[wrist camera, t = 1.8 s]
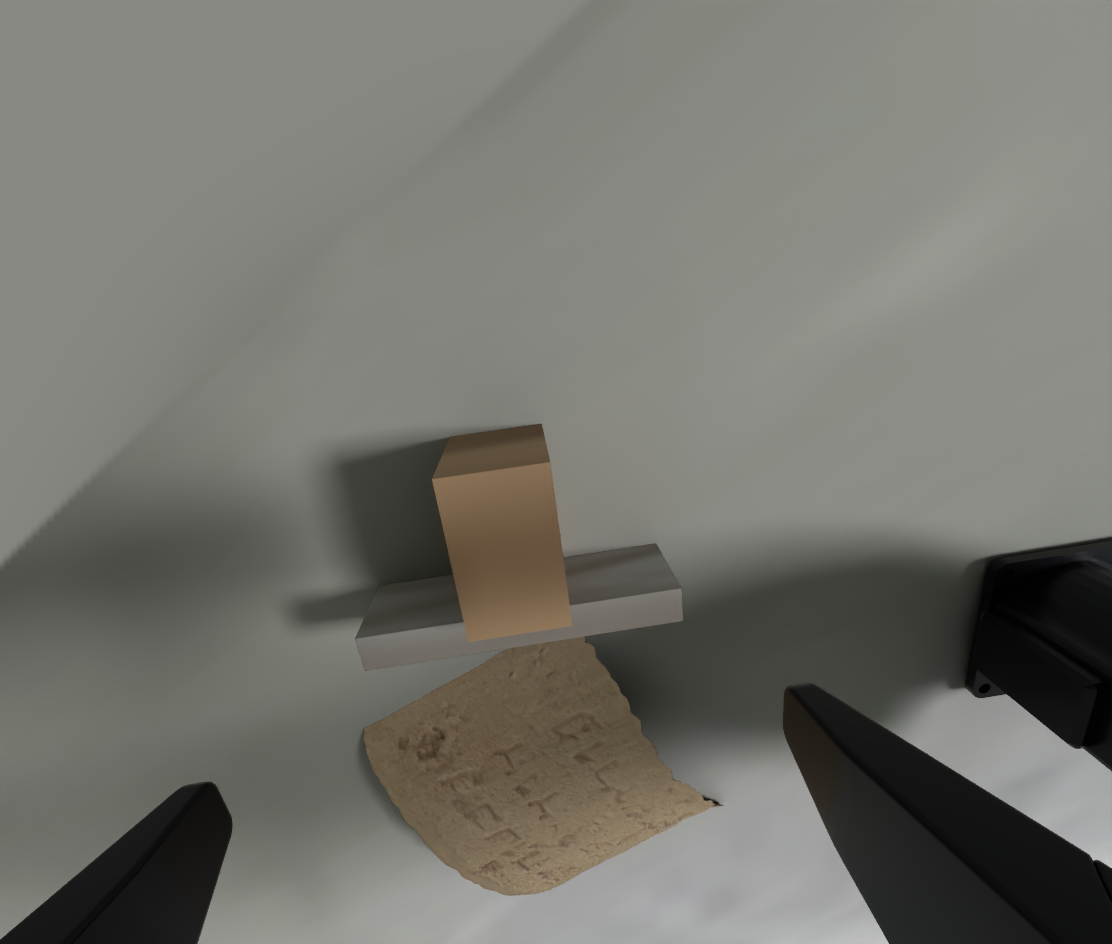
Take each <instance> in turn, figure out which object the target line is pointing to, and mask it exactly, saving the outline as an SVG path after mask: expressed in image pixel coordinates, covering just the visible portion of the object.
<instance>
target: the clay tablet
mask: <svg viewBox="0 0 1112 944" xmlns="http://www.w3.org/2000/svg"><path fill="white" fill-rule="evenodd" d="M364 732H365V733H364V741H365V744H366V747H367V749H366V753H367V755H368V758H369V760H370V763H371V766H372V769H373V772H374V773H375V774H376V775H377V776H378V777H379V780H380V784H381V785H382V786H383V787H384V788H385V789H386V791H387V793H388V796H389V797H390V799H391V801H392V803H393V804H395V805H396V806H397V807H398V808H399V810H400V813H401V815H402V817H403V818H404V819H405V821H406V823H408V824H409V825H410V827H412V828H414V829H416V830H417V831H418V834H419V836H420V837H421V838H422V840H423V841H424V842H425V843H426V845H427V846H428V847H429V848H430V850H431V851H432V852H433V853H434V854H435V855H436V856H437V857H438V858H439V859H440V860H441V861H443V862H444V863H445V864H446V865H447V866H449V867H451V868H453V869H455V870H457V871H458V872H459V873H460V874H461V876H462V877H464V878H465V879H467V880H470V881H472V882H474V883H475V884H479V885H480V886H481V887H483V888H484V889H488V890H492V891H496V892H498V893H500V894H503V895H525V894H536V893H540V892H544V891H547V890H550V889H552V888H554V887H556V886H559V885H561V884H563V883H565V882H567V881H568V880H570V879H572V878H573V877H575V876H577V875H578V874H580V873H582V872H584V871H586V870H588V869H590V868H592V867H594V866H596V865H598V864H600V863H601V862H603V861H605V860H607V859H609V858H612V857H614V856H616V855H618V854H620V853H622V852H625V851H626V850H628V849H630V848H632V847H634V846H636V845H638V844H639V843H641V842H643V841H645V840H647V839H648V838H650V837H652V836H654V835H656V834H659V833H661V832H663V831H665V830H667V829H668V828H670V827H672V826H675V825H676V824H678V823H679V822H681V821H682V820H684V819H686V818H689V817H691V816H694V815H696V814H699V813H701V812H704V811H705V810H707V809H709V808H711V807H718V806H723V805H718V804H714V803H713V802H712V801H710V800H709V801H703V800H704V798H703V797H702V795H701V794H699V793H698V792H697V791H696V790H694V789H693V788H691V787H690V786H689V785H687V784H682V783H681V782H680V781H676V780H674V779H673V778H672V772H671V769H670V768H668V767H666V766H665V765H664V764H663V762H662V761H661V760H660V759H659V758H658V753H657V751H656V750H655V747H654V746H653V745H652V742H651V741H649V740H648V738H647V737H645V736H644V735H643V734H642V731H641V721H640V720H639V719H638V718H637V717H636V716H634V715H633V714H632V713H631V711H630V705H629V702H628V699H627V698H626V697H625V696H624V695H622V694H621V692H620V689H619V686H618V685H617V683H616V682H615V681H614V680H613V679H612V678H611V677H610V673H609V672H608V671H607V670H606V667H605V666H604V665H602V664H601V663H600V661H599V660H598V659H597V658H596V652H595V647H594V646H592V645H591V644H590V643H585V636H584V637H577V638H571V639H565V640H558V641H552V642H546V643H539V644H533V645H527V646H520V647H514V648H508V649H507V650H505V651H503V652H501V653H499V654H498V655H496V656H494V657H493V658H491V659H489V660H488V661H486V662H485V663H483V664H481V665H480V666H478V667H476V668H474V669H473V670H471V671H469V672H468V673H466V674H464V675H462V676H460V677H458V678H456V679H454V680H452V681H451V682H449V683H447V684H445V685H443V686H442V687H440V688H437V689H436V690H434V691H432V692H430V693H429V694H427V695H425V696H424V697H422V698H421V699H419V700H417V701H415V702H413V703H411V704H409V705H407V706H406V707H404V708H402V709H400V710H398V711H396V712H395V713H393V714H391V715H389V716H388V717H386V718H384V719H382V720H380V721H378V722H376V723H374V724H372V725H370V726H368V727H366V728H364Z"/></svg>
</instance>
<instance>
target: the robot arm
mask: <svg viewBox="0 0 1112 944" xmlns="http://www.w3.org/2000/svg"><path fill="white" fill-rule="evenodd" d="M965 687H966V689H967V690H968V691H969V692H971V693H972V694H973V695H974V696H975V697H977V698H985V697H991V696H997V695H1003V694H1007V695H1008V696H1010V697H1011V698H1012V699H1013V700H1015V701H1016V702H1017V703H1018V704H1019V705H1021V706H1022V707H1023V708H1024V709H1026V710H1027V711H1028V712H1029V713H1030V714H1032V715H1033V716H1034V717H1035V718H1037V719H1038V720H1039V721H1040V722H1042V723H1043V724H1044V725H1045V726H1046V727H1048V728H1049V729H1050V730H1051V731H1053V732H1054V733H1055V734H1056V735H1057V736H1059V737H1060V738H1061V739H1062V740H1064V741H1065V742H1066V743H1067V744H1069V745H1070V746H1071V747H1073V748H1076V749H1080V748H1084V749H1085V750H1086V751H1087V752H1089V753H1090V754H1091V755H1092V756H1094V757H1095V758H1096V759H1097V760H1098V761H1100V762H1101V763H1102V764H1103V765H1105V766H1106V767H1107V768H1108V769H1110V770H1111V771H1112V540H1111V541H1105V542H1099V543H1092V544H1086V545H1080V546H1073V547H1067V548H1061V549H1054V550H1048V551H1042V552H1035V553H1029V554H1023V555H1016V556H1010V557H1004V558H999V559H996V560H994V561H993V562H992V563H991V564H990V565H989V566H988V568H987V570H986V575H985V580H984V585H983V591H982V596H981V601H980V607H979V612H978V617H977V623H976V628H975V633H974V639H973V644H972V650H971V655H970V660H969V666H968V671H967V676H966V682H965ZM783 729H784V734H785V737H786V740H787V743H788V745H789V747H790V749H791V752H792V754H793V756H794V758H795V760H796V763H797V765H798V767H799V769H800V772H801V774H802V776H803V778H804V780H805V783H806V785H807V787H808V789H809V792H810V794H811V796H812V798H813V800H814V803H815V805H816V807H817V809H818V812H819V814H820V816H821V818H822V820H823V823H824V825H825V827H826V829H827V831H828V833H829V836H830V838H831V840H832V842H833V844H834V846H835V848H836V850H837V852H838V853H839V855H840V857H841V859H842V861H843V863H844V864H845V866H846V868H847V870H848V872H849V873H850V875H851V877H852V879H853V880H854V882H855V884H856V886H857V887H858V889H859V891H860V893H861V895H862V896H863V898H864V900H865V902H866V903H867V905H868V907H869V909H870V911H871V912H872V914H873V916H874V918H875V919H876V921H877V923H878V925H879V926H880V928H881V930H882V932H883V934H884V935H885V937H886V939H887V941H888V942H889V944H1112V868H1110V867H1109V866H1107V865H1105V864H1104V863H1102V862H1101V861H1098V860H1094V861H1093V860H1092V858H1091V857H1090V855H1089V854H1087V853H1086V852H1084V851H1082V850H1081V849H1079V848H1078V847H1076V846H1074V845H1073V844H1071V843H1070V842H1068V841H1066V840H1065V839H1063V838H1062V837H1060V836H1058V835H1057V834H1055V833H1053V832H1052V831H1050V830H1049V829H1047V828H1045V827H1044V826H1042V825H1041V824H1039V823H1037V822H1036V821H1034V820H1033V819H1031V818H1029V817H1028V816H1026V815H1024V814H1023V813H1021V812H1020V811H1018V810H1016V809H1015V808H1013V807H1012V806H1010V805H1008V804H1007V803H1005V802H1004V801H1002V800H1000V799H999V798H997V797H995V796H994V795H992V794H991V793H989V792H987V791H986V790H984V789H983V788H981V787H979V786H978V785H976V784H975V783H973V782H971V781H970V780H968V779H966V778H965V777H963V776H962V775H960V774H958V773H957V772H955V771H954V770H952V769H950V768H949V767H947V766H946V765H944V764H942V763H941V762H939V761H937V760H936V759H934V758H933V757H931V756H929V755H928V754H926V753H925V752H923V751H921V750H920V749H918V748H917V747H915V746H913V745H912V744H910V743H908V742H907V741H905V740H904V739H902V738H900V737H899V736H897V735H896V734H894V733H892V732H891V731H889V730H888V729H886V728H884V727H883V726H881V725H879V724H878V723H876V722H875V721H873V720H871V719H870V718H868V717H867V716H865V715H863V714H862V713H860V712H859V711H857V710H855V709H854V708H852V707H851V706H849V705H847V704H846V703H844V702H842V701H841V700H839V699H838V698H836V697H834V696H833V695H831V694H830V693H828V692H826V691H825V690H823V689H822V688H820V687H818V686H817V685H815V684H812V683H803V684H797V685H791V686H788V687H787V688H786V689H785V691H784V709H783ZM231 834H232V817H231V814H230V812H229V810H228V808H227V806H226V804H225V802H224V800H223V798H222V796H221V794H220V792H219V790H218V788H217V786H216V785H215V784H214V783H212V782H202V783H196V784H190V785H186V786H183V787H181V788H179V789H178V790H177V791H175V792H174V793H173V794H172V795H171V796H170V797H168V798H167V799H166V800H165V801H164V802H162V803H161V804H160V805H159V806H158V807H157V808H155V809H154V810H153V811H152V812H151V813H149V814H148V815H147V816H146V817H145V818H144V819H142V820H141V821H140V822H139V823H138V824H136V825H135V826H134V827H133V828H132V829H131V830H129V831H128V832H127V833H126V834H125V835H123V836H122V837H121V838H120V839H119V840H118V841H116V842H115V843H114V844H113V845H112V846H110V847H109V848H108V849H107V850H106V851H105V852H103V853H102V854H101V855H100V856H99V857H97V858H96V859H95V860H94V861H93V862H91V863H90V864H89V865H88V866H87V867H86V868H84V869H83V870H82V871H81V872H80V873H78V874H77V875H76V876H75V877H74V878H73V879H71V880H70V881H69V882H68V883H67V884H65V885H64V886H63V887H62V888H61V889H60V890H58V891H57V892H56V893H55V894H54V895H52V896H51V897H50V898H49V899H48V900H47V901H45V902H44V903H43V904H42V905H41V906H39V907H38V908H37V909H36V910H35V911H34V912H32V913H31V914H30V915H29V916H28V917H26V918H25V919H24V920H23V921H22V922H20V923H19V924H18V925H17V926H16V927H15V928H13V929H12V930H11V931H10V932H9V933H7V934H6V935H5V936H4V937H3V938H2V939H0V944H197V943H198V940H199V937H200V934H201V931H202V928H203V924H204V921H205V918H206V915H207V912H208V908H209V905H210V902H211V899H212V896H213V892H214V889H215V886H216V883H217V880H218V876H219V873H220V870H221V867H222V863H223V860H224V857H225V854H226V851H227V847H228V844H229V841H230V838H231Z"/></svg>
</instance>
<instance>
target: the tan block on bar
mask: <svg viewBox="0 0 1112 944" xmlns="http://www.w3.org/2000/svg"><path fill="white" fill-rule="evenodd" d="M432 482H433V486H434V491H435V495H436V500H437V504H438V509H439V513H440V518H441V522H442V527H443V531H444V536H445V540H446V545H447V549H448V554H449V558H450V563H451V567H452V572H453V575H447V576H440V577H433V578H427V579H420V580H414V581H407V582H401V583H394V584H388V585H381V586H378V589H377V591H376V593H375V595H374V598H373V600H372V602H371V604H370V607H369V609H368V611H367V613H366V615H365V618H364V620H363V622H362V624H361V627H360V629H359V631H358V633H357V636H356V638H355V641H356V644H357V647H358V650H359V653H360V657H361V660H362V663H363V666H364V669H365V671H368V670H374V669H380V668H387V667H393V666H399V665H406V664H412V663H418V662H425V661H431V660H437V659H444V658H450V657H457V656H463V655H469V654H476V653H482V652H488V651H495V650H501V649H507V648H514V647H520V646H527V645H533V644H539V643H546V642H552V641H558V640H565V639H571V638H577V637H584V636H590V635H597V634H603V633H609V632H616V631H622V630H628V629H635V628H641V627H647V626H654V625H660V624H667V623H673V622H679V621H683V609H682V588H681V587H680V585H679V583H678V581H677V579H676V578H675V576H674V574H673V572H672V571H671V569H670V567H669V565H668V564H667V562H666V560H665V558H664V557H663V555H662V553H661V551H660V550H659V548H658V546H657V544H649V545H643V546H636V547H630V548H623V549H617V550H610V551H604V552H597V553H591V554H584V555H577V556H571V557H564V558H563V553H562V546H561V538H560V531H559V524H558V516H557V509H556V502H555V494H554V487H553V480H552V472H551V465H550V459H549V455H548V450H547V446H546V441H545V437H544V432H543V428H542V424H537V425H530V426H523V427H516V428H509V429H502V430H495V431H488V432H481V433H474V434H467V435H460V436H453V437H449V440H448V442H447V445H446V447H445V449H444V452H443V454H442V457H441V459H440V461H439V464H438V466H437V468H436V471H435V473H434V476H433V478H432Z"/></svg>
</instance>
